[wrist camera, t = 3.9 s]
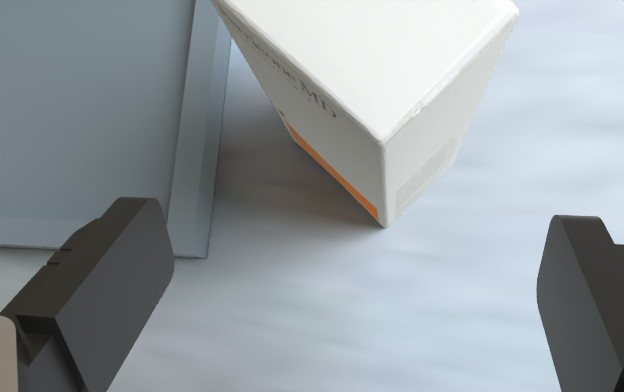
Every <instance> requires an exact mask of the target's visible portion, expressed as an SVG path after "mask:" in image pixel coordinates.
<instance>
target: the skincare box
mask: <svg viewBox="0 0 624 392" xmlns="http://www.w3.org/2000/svg"><path fill="white" fill-rule="evenodd" d="M210 1H211V2H212V4H213V6H214V7H215V9H216V11H217V13H218V14H219V16H220V18H221V19H222V21H223V23H224V24H225V26H226V28H227V29H228V31H229V33H230V34H231V36H232V37H233V39H234V41H235V43H236V44H237V46H238V47H239V49H240V51H241V53H242V54H243V56H244V58H245V59H246V61H247V63H248V64H249V66H250V68H251V69H252V71H253V73H254V74H255V76H256V78H257V79H258V81H259V83H260V84H261V86H262V88H263V90H264V91H265V93H266V95H267V96H268V98H269V99H270V101H271V103H272V104H273V106H274V108H275V109H276V111H277V112H278V114H279V116H280V118H281V119H282V121H283V123H284V125H285V126H286V128H287V130H288V131H289V133H290V135H291V136H292V138H293V140H294V141H295V142H296V143H297V144H299V145H300V146H301V147H302V148H303V149H304V150H305V151H306V152H307V153H308V154H310V155H311V156H312V157H313V158H314V159H315V160H316V161H317V162H318V163H319V164H320V165H321V166H322V167H323V168H324V169H326V170H327V171H328V172H329V173H330V174H331V175H332V176H333V177H334V178H335V179H336V180H337V181H338V182H339V183H340V184H341V185H342V186H343V187H344V188H345V189H346V190H347V191H348V192H349V193H350V194H351V195H352V196H353V197H354V198H355V199H356V200H357V201H358V202H359V203H360V204H361V205H362V206H363V207H364V208H365V209H366V210H367V211H368V212H369V213H370V214H371V215H372V216H373V217H374V218H375V219H376V220H377V221H378V222H379V223H380V224H381V225H382V226H383V227H384V228H387V227H389V226H390V225H391V224H392V223H393V222H394V221H395V220H396V219H397V218H398V217H399V216H400V215H401V214H402V213H403V212H404V211H405V210H406V209H407V208H408V207H409V206H410V205H411V204H412V203H413V202H415V201H416V200H417V199H418V198H419V197H420V196H421V195H422V194H423V193H424V192H425V191H426V190H427V189H428V188H429V187H430V186H431V185H432V184H433V183H434V182H435V181H437V180H438V179H439V178H440V177H441V176H442V175H443V174H444V173H445V172H446V171H447V170H448V169H449V168H450V167H451V166H452V165H453V163H454V161H455V159H456V157H457V155H458V152H459V150H460V148H461V145H462V143H463V141H464V138H465V136H466V134H467V131H468V129H469V127H470V124H471V122H472V119H473V117H474V115H475V113H476V110H477V108H478V106H479V103H480V101H481V99H482V96H483V94H484V92H485V89H486V87H487V85H488V82H489V80H490V78H491V76H492V74H493V71H494V69H495V67H496V65H497V62H498V60H499V58H500V55H501V53H502V51H503V49H504V47H505V45H506V43H507V40H508V38H509V36H510V34H511V32H512V30H513V28H514V26H515V24H516V22H517V20H518V17H519V10H518V8H517V7H516V6H515V4H514V3H512V2H511V1H510V0H210Z"/></svg>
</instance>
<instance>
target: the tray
mask: <svg viewBox="0 0 624 392" xmlns="http://www.w3.org/2000/svg"><path fill="white" fill-rule="evenodd" d="M230 45H231V34H230V33H229V31H228V29H227V28H226V26H225V24H224V23H223V21H222V19H221V18H220V16H219V14H218V13H217V11H216V9H215V7H214V6H213V4H212V2H211V1H210V0H0V247H8V248H25V249H43V250H60V249H59V248H60V247H61V246H62V245H63V244H64V243H65V242H66V241H67V240H68V239H69V237H70V236H71V235H72V234H73V233H74V232H75V231H77V230H78V229H80V228H82V227H83V226H85V225H86V224H88V223H89V222H91V221H93V220H94V219H96V218H100V217H101V216H102V215H103V214H104V213H105V212H106V211H107V209H108V208H109V207H110V206H111V205H112V204H113V203H114V202H115V200H116V199H118V198H119V197H144V198H155V199H157V200H158V201H159V203H160V205H161V208H162V211H163V215H164V219H165V223H166V226H167V230H168V234H169V238H170V242H171V245H172V249H173V253H174V257H185V258H203V259H207V253H208V244H209V235H210V226H211V217H212V208H213V199H214V190H215V180H216V171H217V162H218V153H219V144H220V135H221V126H222V117H223V108H224V99H225V90H226V81H227V72H228V63H229V54H230Z"/></svg>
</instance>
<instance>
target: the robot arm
mask: <svg viewBox="0 0 624 392" xmlns="http://www.w3.org/2000/svg"><path fill="white" fill-rule="evenodd" d="M59 249H60V251H59V252H56V253H55V254H54V255H53V256H52V257H51V258H50V259H49V260H48V261H47V265H46V266H43V267H42V268H41V269H40V270H39V271H38V272H37V273H36V274H35V275H34V277H33V278H32V279H31V280H30V281H29V282H28V283H27V284H26V285H25V286H24V287H23V289H22V290H21V291H20V292H19V293H18V294H17V295H16V296H15V297H14V298H13V299H12V300H11V302H10V303H9V304H8V305H7V306H6V307H5V308H4V309H3V310H2V311H1V312H0V392H106V391H107V390H108V388H109V386H110V384H111V383H112V381H113V379H114V378H115V376H116V374H117V372H118V371H119V369H120V367H121V366H122V364H123V362H124V360H125V359H126V357H127V355H128V354H129V352H130V350H131V348H132V347H133V345H134V343H135V341H136V340H137V338H138V336H139V335H140V333H141V331H142V329H143V328H144V326H145V324H146V323H147V321H148V319H149V317H150V316H151V314H152V312H153V311H154V309H155V307H156V305H157V304H158V302H159V300H160V298H161V297H162V295H163V293H164V292H165V290H166V288H167V286H168V285H169V283H170V281H171V278H172V275H173V271H174V253H173V249H172V245H171V242H170V238H169V234H168V230H167V226H166V223H165V219H164V215H163V211H162V208H161V205H160V203H159V201H158V200H157V199H155V198H144V197H119V198H118V199H116V200H115V202H114V203H113V204H112V205H111V206H110V207H109V208H108V209H107V211H106V212H105V213H104V214H103V215H102V216H101V217H100V218H96V219H94V220H93V221H91V222H89V223H88V224H86V225H85V226H83V227H82V228H80V229H78V230H77V231H75V232H74V233H73V234H72V235H71V236H70V237H69V239H68V240H67V241H66V242H65V243H64V244H63V245H62V246H61V247H60V248H59ZM537 304H538V309H539V313H540V316H541V320H542V323H543V327H544V330H545V334H546V338H547V341H548V345H549V348H550V352H551V355H552V359H553V362H554V366H555V370H556V373H557V377H558V380H559V384H560V387H561V391H562V392H624V245H620V244H614V242H613V240H612V238H611V236H610V234H609V233H608V231H607V229H606V227H605V225H604V223H603V221H602V220H601V219H600V218H599V217H596V216H571V215H554V216H553V218H552V219H551V222H550V225H549V230H548V234H547V238H546V243H545V247H544V251H543V256H542V260H541V265H540V269H539V273H538V278H537Z"/></svg>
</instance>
